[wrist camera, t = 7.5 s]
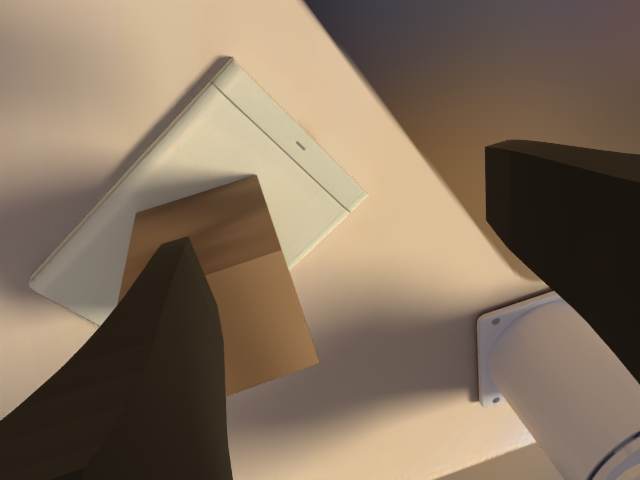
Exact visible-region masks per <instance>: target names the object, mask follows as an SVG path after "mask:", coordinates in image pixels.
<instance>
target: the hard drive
mask: <svg viewBox="0 0 640 480" xmlns="http://www.w3.org/2000/svg"><path fill="white" fill-rule="evenodd" d="M254 175H257V177H258V180H259V183H260V186H261V189H262V192H263V195H264V198H265V201H266V204H267V207H268V210H269V213H270V216H271V219H272V222H273V225H274V228H275V231H276V234H277V237H278V240H279V243H280V246H281V249H282V252H283V254H284V257H285V260H286V263H287V266H288V269H289V271H290V270H291V269H292V268H293V267H294V266H295V265H296V264H297V263H298V262H299V261H300V260H301V259H302V258H303V257H304V256H306V255H307V254H308V253H309V252H310V251H311V250H312V249H313V248H314V247H315V246H316V245H317V244H318V243H319V242H320V241H321V240H322V239H323V238H324V237H326V236H327V235H328V234H329V233H330V232H331V231H332V230H333V229H334V228H335V227H336V226H337V225H338V224H339V223H340V222H341V221H342V220H344V219H345V218H346V217H347V216H348V215H349V214H350V212H351V211H353V210H354V209H355V208H356V207H357V206H358V205H359V204H360V203H361V202H362V201H363V200H364V199H365V198H366V197H367V196H368V193H367V191H366V190H365V189H364V188H363V187H362V186H361V185H360V184H359V183H358V182H357V181H356V180H355V179H354V178H353V177H352V176H351V175H350V174H349V173H348V172H347V171H346V170H345V169H344V168H343V167H342V166H341V165H340V164H339V163H338V162H337V161H336V160H335V159H334V158H333V157H332V156H331V155H330V154H329V153H328V152H327V151H326V150H325V149H324V148H323V147H322V146H321V145H320V144H319V143H318V142H317V141H316V140H315V139H314V138H313V137H312V136H311V135H310V134H309V133H308V132H307V131H306V130H305V129H304V128H303V127H302V126H301V125H300V124H299V123H298V122H297V121H296V120H295V119H294V118H293V117H292V116H291V115H290V114H289V113H288V112H287V111H286V110H285V109H284V108H283V107H282V106H281V105H280V104H279V103H278V102H277V101H276V100H275V99H274V98H273V97H272V96H271V95H270V94H269V93H268V92H267V91H266V90H265V89H264V88H263V87H262V86H261V85H260V84H259V83H258V82H257V81H256V80H255V79H254V78H253V77H252V76H251V74H250V73H249V72H248V71H247V70H246V69H245V68H244V67H243V66H242V65H241V64H240V63H239V62H238V61H237V60H236V59H235V58H234V57H232V58H231V59H230V60H229V61H228V62H227V63H226V64H225V65H224V66H223V67H222V68H221V69H220V70H219V72H218V73H217V74H216V75H215V76H214V77H213V78H212V79H211V80H210V81H209V82H208V83H207V85H206V86H205V87H204V88H203V89H202V90H201V91H200V92H199V93H198V94H197V95H196V97H195V98H194V99H193V100H192V101H191V102H190V103H189V104H188V105H187V106H186V107H185V108H184V109H183V111H182V112H181V113H180V114H179V115H178V116H177V117H176V118H175V119H174V120H173V121H172V122H171V124H170V125H169V126H168V127H167V128H166V129H165V130H164V131H163V132H162V133H161V134H160V136H159V137H158V138H157V139H156V140H155V141H154V142H153V143H152V144H151V145H150V146H149V148H148V149H147V150H146V151H145V152H144V153H143V154H142V155H141V156H140V157H139V158H138V160H137V161H136V162H135V163H134V164H133V165H132V166H131V167H130V168H129V169H128V170H127V172H126V173H125V174H124V175H123V176H122V177H121V178H120V179H119V180H118V181H117V183H116V184H115V185H114V186H113V187H112V188H111V189H110V190H109V191H108V192H107V194H106V195H105V196H104V197H103V198H102V199H101V200H100V201H99V202H98V203H97V204H96V206H95V207H94V208H93V209H92V210H91V211H90V212H89V213H88V214H87V215H86V216H85V218H84V219H83V220H82V221H81V222H80V223H79V224H78V225H77V226H76V227H75V228H74V230H73V231H72V232H71V233H70V234H69V235H68V236H67V237H66V238H65V239H64V240H63V242H62V243H61V244H60V245H59V246H58V247H57V248H56V249H55V250H54V251H53V253H52V254H51V255H50V256H49V257H48V258H47V259H46V260H45V261H44V262H43V263H42V265H41V266H40V267H39V268H38V269H37V270H36V271H35V272H34V273H33V274H32V276H31V278H30V279H29V281H28V286H29V287H30V288H31V289H32V290H34V291H35V292H37V293H38V294H40V295H42V296H43V297H45V298H47V299H49V300H51V301H53V302H55V303H57V304H59V305H61V306H63V307H65V308H67V309H68V310H70V311H72V312H74V313H76V314H78V315H80V316H82V317H84V318H86V319H88V320H90V321H92V322H94V323H96V324H98V325H100V326H101V325H102V324H103V322H104V321H105V320H106V319H107V317H108V316H109V315H110V314H111V312H112V311H113V310H114V308H115V307H116V306H117V303H118V298H119V293H120V288H121V283H122V278H123V273H124V269H125V264H126V259H127V254H128V249H129V244H130V239H131V234H132V229H133V224H134V219H135V215H136V213H138V212H141V211H144V210H147V209H150V208H153V207H157V206H160V205H163V204H166V203H169V202H172V201H175V200H179V199H182V198H185V197H188V196H191V195H194V194H197V193H200V192H204V191H207V190H210V189H213V188H216V187H219V186H222V185H226V184H229V183H232V182H235V181H238V180H241V179H244V178H247V177H251V176H254Z"/></svg>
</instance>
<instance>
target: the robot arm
mask: <svg viewBox="0 0 640 480" xmlns="http://www.w3.org/2000/svg"><path fill="white" fill-rule="evenodd" d="M485 179H486V220H487V222H488V223H489V225H490V226H491V227H492V228H493V230H494V231H495V232H496V234H497V235H498V236H499V237H500V239H501V240H502V241H503V243H504V244H505V245H506V246H507V247H508V249H509V250H510V251H511V252H513V253H514V254H515V255H516V256H517V257H518V258H519V259H520V260H521V261H522V262H523V263H524V264H525V265H526V266H527V267H528V268H530V269H531V270H532V271H533V272H534V273H535V274H536V275H537V276H538V277H539V278H540V279H541V280H543V281H544V282H545V283H546V284H547V285H548V286H549V287H550V288H551V289H552V290H554V291H552V292H549V293H546V294H543V295H540V296H537V297H534V298H531V299H528V300H525V301H522V302H519V303H516V304H513V305H510V306H507V307H504V308H501V309H498V310H495V311H492V312H489V313H486V314H483V315H481V316H480V317H479V319H478V320H477V344H478V376H479V402H480V404H481V405H482V407H484V408H488V407H491V406H494V405H497V404H500V403H503V402H505V401H507V402H508V404H509V405H510V406H511V408H512V409H513V410H514V412H515V413H516V414H517V416H518V417H519V419H520V420H521V421H522V423H523V424H524V425H525V427H526V428H527V429H528V431H529V432H530V433H531V435H532V436H533V438H534V439H535V440H536V442H537V443H538V444H539V446H540V447H541V448H542V450H543V451H544V452H545V454H546V455H547V456H548V458H549V459H550V461H551V462H552V463H553V465H554V466H555V468H556V469H557V470H558V472H559V473H560V474H561V476H562V477H563V478H564V480H640V155H637V154H628V153H619V152H611V151H603V150H596V149H589V148H582V147H575V146H568V145H560V144H553V143H546V142H538V141H528V140H506V141H503V142H500V143H497V144H493V145H490V146H487V147H485ZM0 480H233V477H232V470H231V463H230V456H229V449H228V438H227V423H226V390H225V360H224V340H223V334H222V328H221V322H220V317H219V311H218V306H217V303H216V301H215V298H214V296H213V294H212V291H211V289H210V286H209V284H208V282H207V279H206V277H205V275H204V272H203V270H202V267H201V265H200V263H199V260H198V258H197V256H196V253H195V251H194V248H193V246H192V244H191V241H190V239H189V237H188V236H187V237H183V238H180V239H177V240H174V241H170V242H167V243H164V244H161V245H160V247H159V248H158V249H157V250H156V252H155V253H154V255H153V256H152V257H151V259H150V260H149V262H148V263H147V265H146V266H145V268H144V269H143V271H142V272H141V273H140V275H139V276H138V278H137V279H136V280H135V282H134V283H133V285H132V286H131V288H130V289H129V290H128V292H127V293H126V295H125V296H124V297H123V298H122V300H121V301H120V302H119V303H118V305H117V306H116V307H115V308H114V310H113V311H112V312H111V314H110V315H109V316H108V317H107V319H106V320H105V321H104V322H103V324H102V325H101V326H100V327H99V328H98V330H97V331H96V332H95V333H94V334H93V335H92V336H91V338H90V339H89V340H88V341H87V342H86V343H85V344H84V345H83V346H82V347H81V348H80V349H79V350H78V351H77V352H76V353H75V354H74V355H73V357H72V358H71V359H70V360H69V361H68V362H67V363H66V364H65V365H64V366H63V367H62V368H61V369H59V370H58V371H57V372H56V373H55V374H54V375H53V376H52V377H51V378H50V379H48V380H47V381H46V382H45V383H44V384H43V385H42V386H41V387H39V388H38V389H37V390H36V391H35V392H34V393H33V394H32V395H30V396H29V397H28V398H27V399H26V400H25V401H24V402H23V403H21V404H20V405H19V406H18V407H17V408H16V409H14V410H13V411H12V412H11V413H10V414H8V415H7V416H6V417H4V418H3V419H2V420H1V421H0Z"/></svg>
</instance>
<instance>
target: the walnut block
mask: <svg viewBox="0 0 640 480" xmlns="http://www.w3.org/2000/svg"><path fill="white" fill-rule="evenodd" d="M187 236H188V237H189V239H190V241H191V244H192V246H193V248H194V251H195V253H196V256H197V258H198V260H199V263H200V265H201V267H202V270H203V272H204V275H205V277H206V279H207V282H208V284H209V286H210V289H211V291H212V294H213V296H214V298H215V301H216V303H217V306H218V311H219V317H220V322H221V328H222V334H223V340H224V360H225V390H226V396H228V395H231V394H234V393H237V392H240V391H242V390H245V389H248V388H251V387H254V386H256V385H259V384H262V383H265V382H268V381H270V380H273V379H276V378H279V377H282V376H284V375H287V374H290V373H293V372H296V371H298V370H301V369H304V368H307V367H310V366H312V365H315V364H318V363H319V360H318V357H317V354H316V351H315V348H314V345H313V342H312V339H311V336H310V333H309V330H308V327H307V324H306V321H305V318H304V315H303V312H302V309H301V306H300V303H299V300H298V297H297V294H296V290H295V287H294V284H293V281H292V278H291V275H290V272H289V269H288V266H287V263H286V260H285V257H284V254H283V252H282V249H281V246H280V243H279V240H278V237H277V234H276V231H275V228H274V225H273V222H272V219H271V216H270V213H269V210H268V207H267V204H266V201H265V198H264V195H263V192H262V189H261V186H260V183H259V180H258V177H257V175H254V176H251V177H247V178H244V179H241V180H238V181H235V182H232V183H229V184H226V185H222V186H219V187H216V188H213V189H210V190H207V191H204V192H200V193H197V194H194V195H191V196H188V197H185V198H182V199H179V200H175V201H172V202H169V203H166V204H163V205H160V206H157V207H153V208H150V209H147V210H144V211H141V212H138V213H136V215H135V219H134V224H133V229H132V234H131V239H130V244H129V249H128V254H127V259H126V264H125V269H124V273H123V278H122V283H121V288H120V293H119V298H118V303H119V302H120V301H121V300H122V298H123V297H124V296H125V295H126V293H127V292H128V290H129V289H130V288H131V286H132V285H133V283H134V282H135V280H136V279H137V278H138V276H139V275H140V273H141V272H142V271H143V269H144V268H145V266H146V265H147V263H148V262H149V260H150V259H151V257H152V256H153V255H154V253H155V252H156V250H157V249H158V248H159V247H160V245H161V244H164V243H167V242H170V241H174V240H177V239H180V238H183V237H187ZM118 303H117V305H118Z"/></svg>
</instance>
